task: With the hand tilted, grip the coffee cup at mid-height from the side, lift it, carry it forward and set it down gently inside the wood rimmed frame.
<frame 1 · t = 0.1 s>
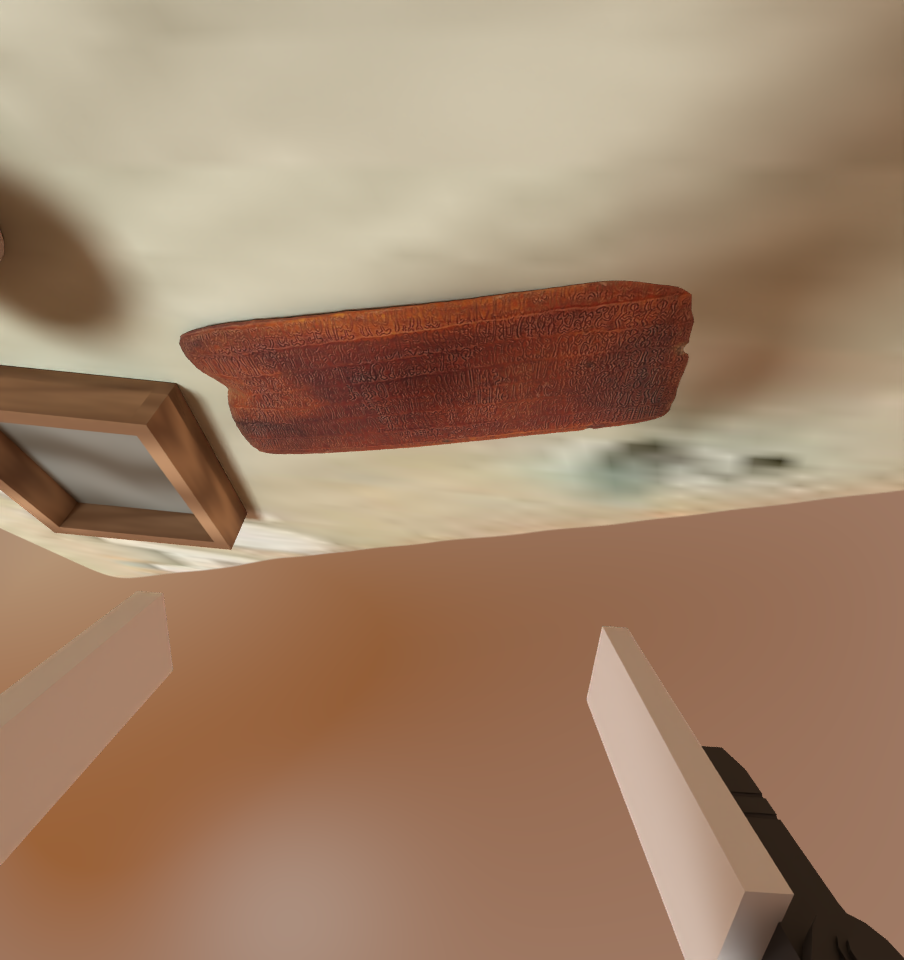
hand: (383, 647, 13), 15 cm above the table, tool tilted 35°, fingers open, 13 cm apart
wood rimmed frame: (120, 450, 31), on the table
wooden tablet: (434, 375, 25), on the table
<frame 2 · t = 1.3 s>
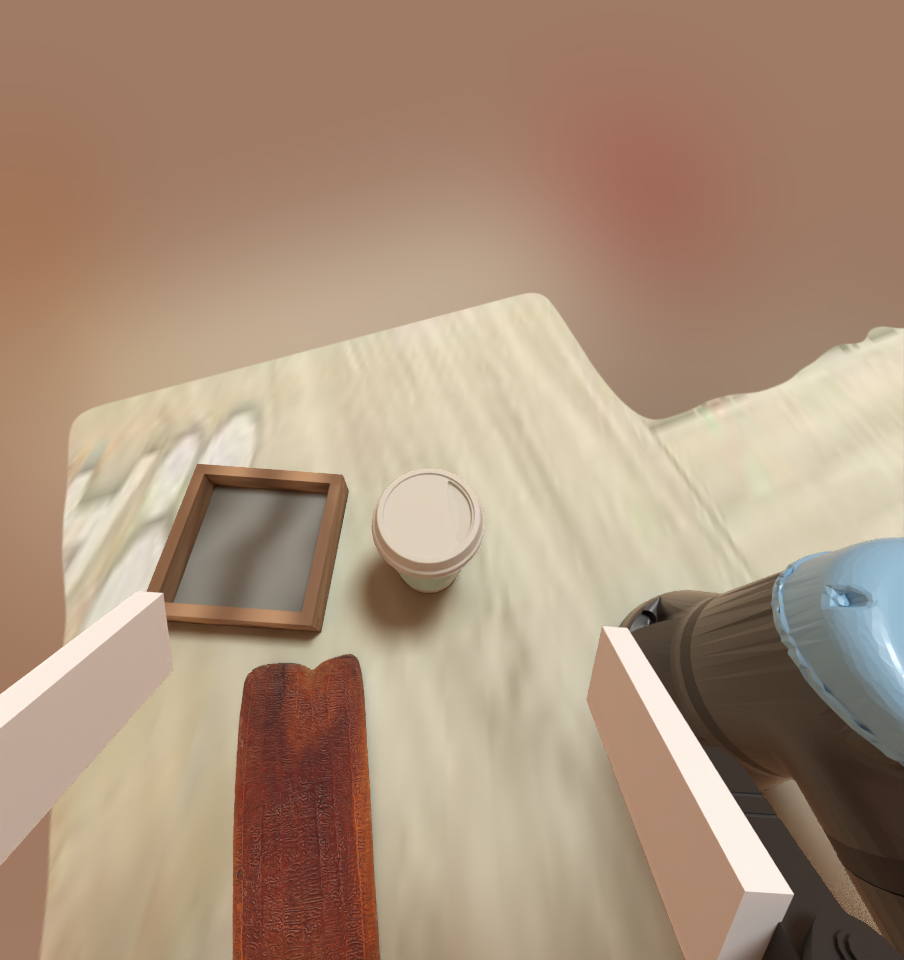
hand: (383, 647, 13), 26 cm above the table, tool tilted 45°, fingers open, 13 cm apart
wood rimmed frame: (263, 550, 41), on the table
coffee cup: (429, 563, 41), on the table
wooden tablet: (306, 854, 31), on the table
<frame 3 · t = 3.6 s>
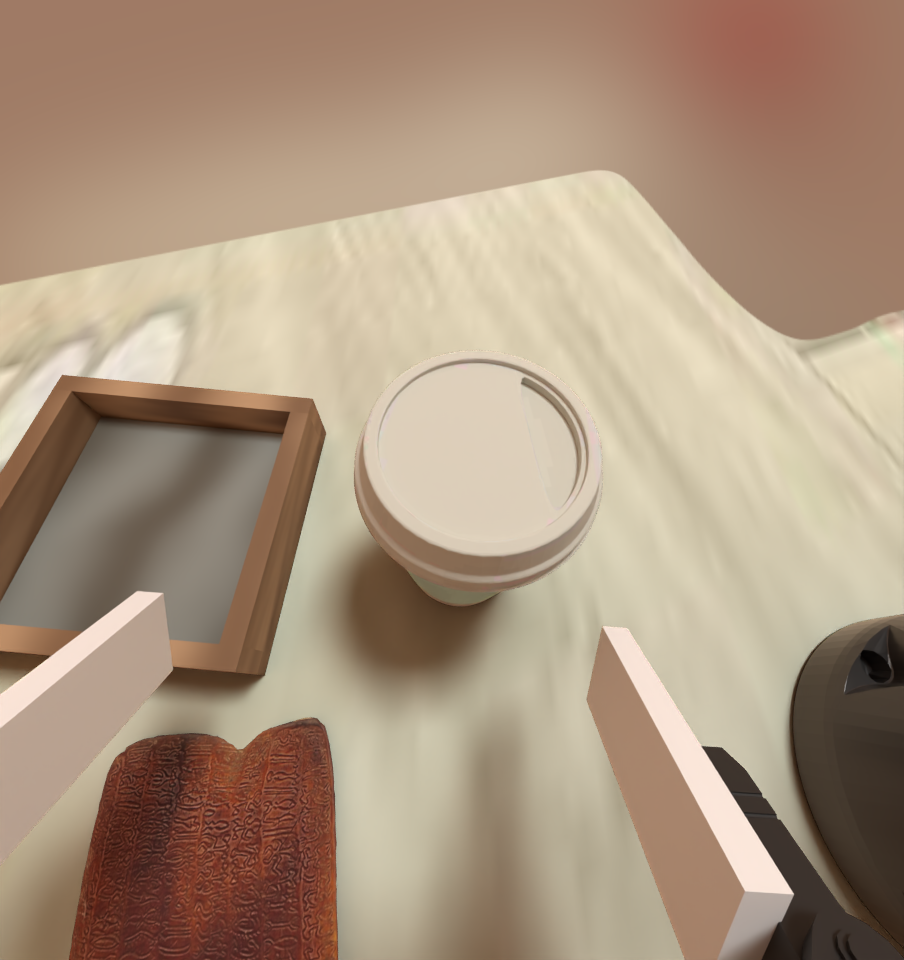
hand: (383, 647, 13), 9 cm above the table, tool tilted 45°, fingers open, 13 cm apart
wood rimmed frame: (174, 526, 24), on the table
coffee cup: (459, 554, 24), on the table
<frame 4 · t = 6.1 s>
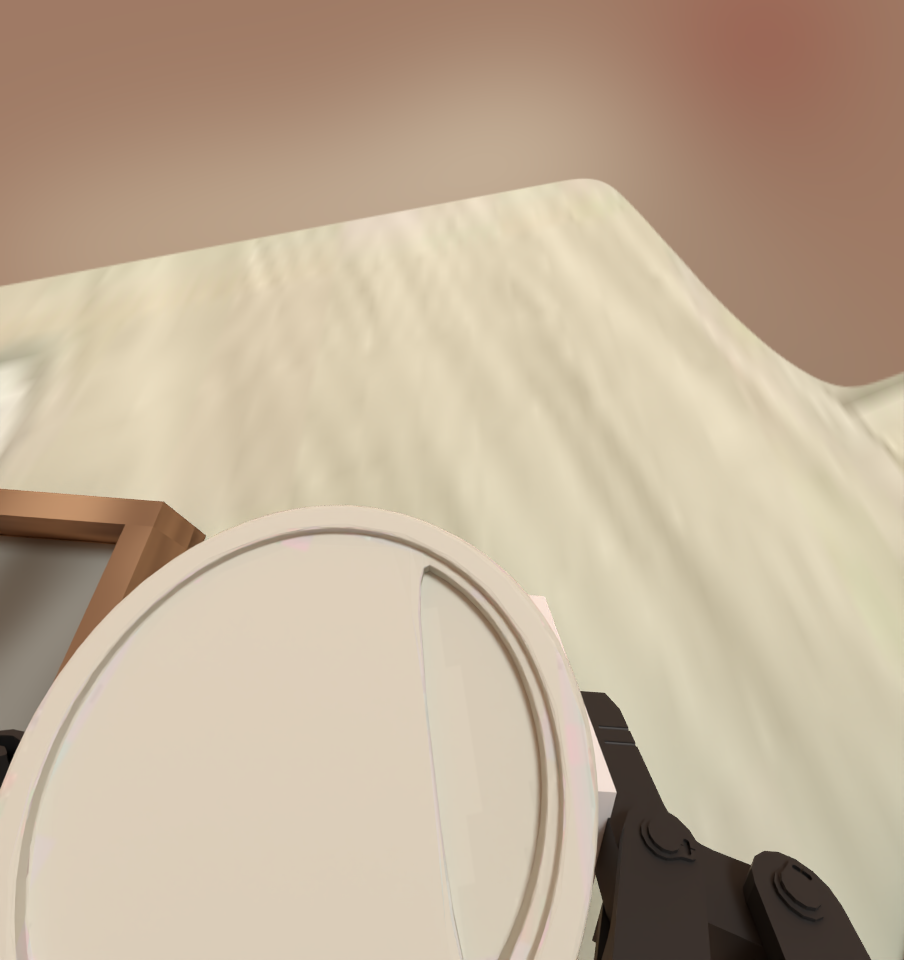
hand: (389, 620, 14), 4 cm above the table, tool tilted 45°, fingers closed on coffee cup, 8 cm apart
coffee cup: (386, 729, 16), on the table, touching gripper
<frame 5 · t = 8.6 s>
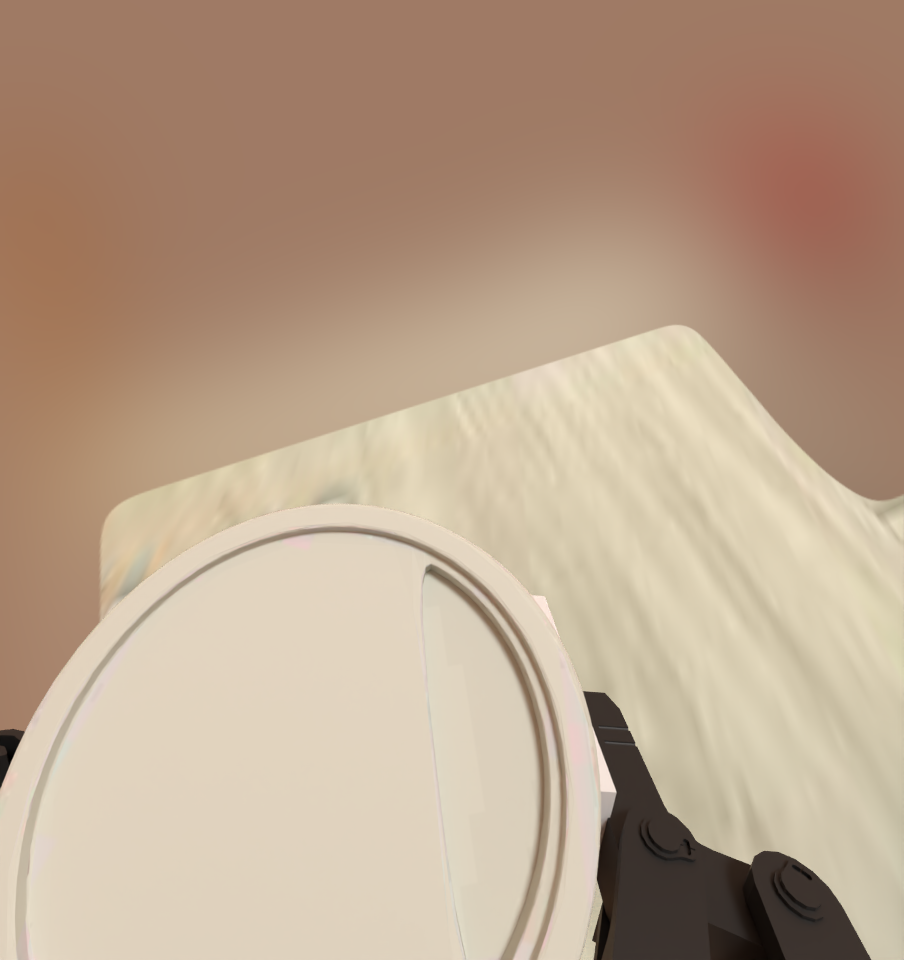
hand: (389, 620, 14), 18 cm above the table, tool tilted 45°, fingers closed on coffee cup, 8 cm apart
coffee cup: (386, 729, 16), point 14 cm above the table, touching gripper
when the fingers open (6 cm above the table, at t = 11.2 s): coffee cup drops 1 cm, resting on wood rimmed frame.
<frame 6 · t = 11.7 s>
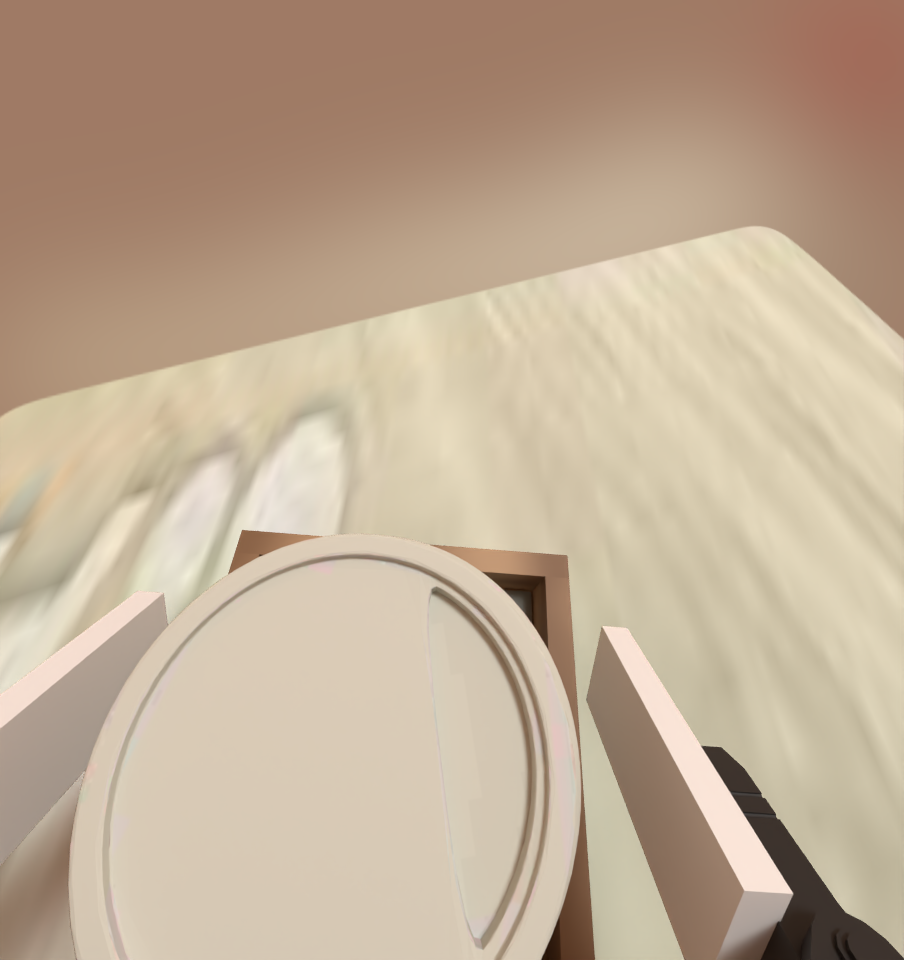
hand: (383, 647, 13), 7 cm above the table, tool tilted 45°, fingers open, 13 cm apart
wood rimmed frame: (390, 727, 18), on the table
coffee cup: (392, 730, 17), point 1 cm above the table, touching wood rimmed frame
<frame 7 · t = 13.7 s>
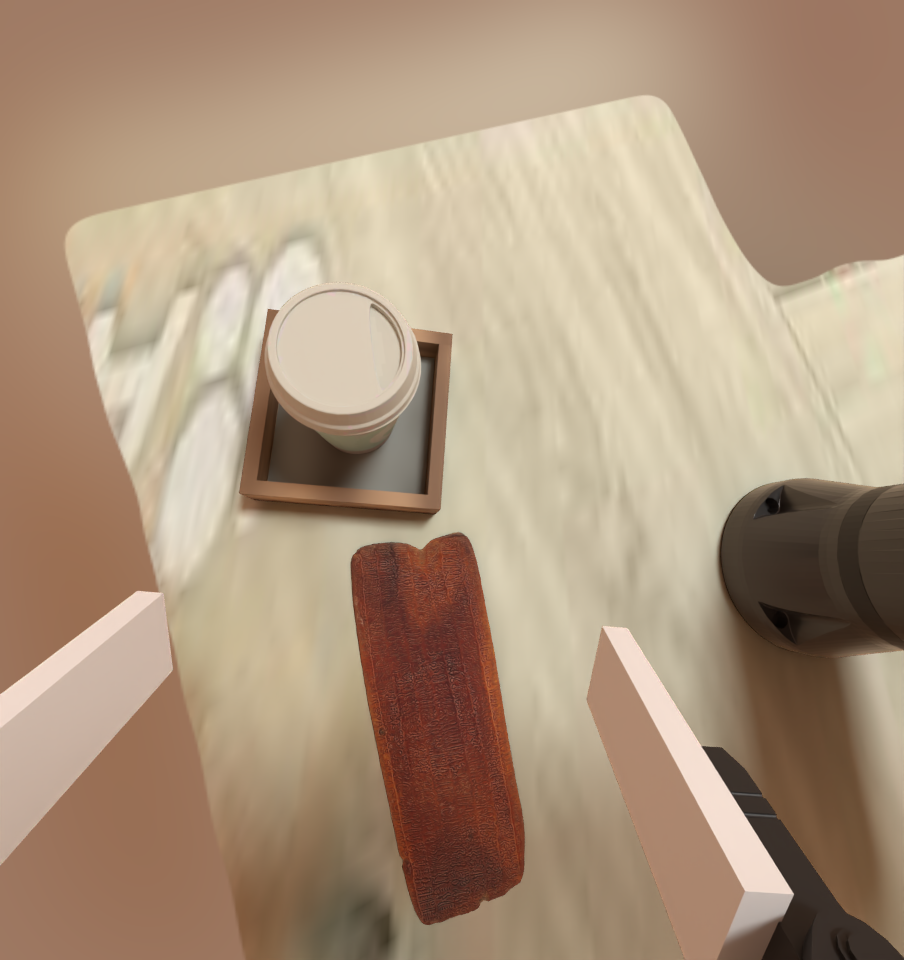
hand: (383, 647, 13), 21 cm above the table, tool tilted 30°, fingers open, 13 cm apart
wood rimmed frame: (356, 422, 35), on the table
coffee cup: (357, 419, 34), point 1 cm above the table, touching wood rimmed frame
wooden tablet: (436, 710, 33), on the table
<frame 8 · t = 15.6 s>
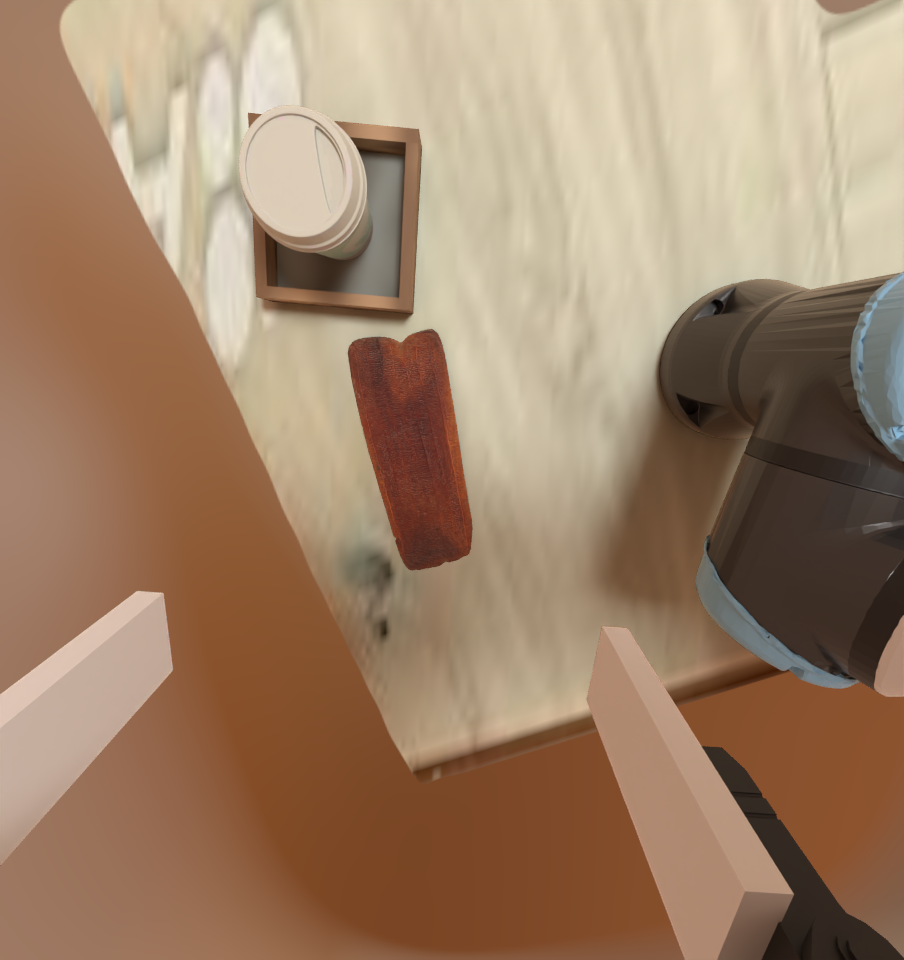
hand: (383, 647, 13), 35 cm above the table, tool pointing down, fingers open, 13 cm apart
wood rimmed frame: (343, 228, 41), on the table
coffee cup: (342, 226, 40), point 1 cm above the table, touching wood rimmed frame
wooden tablet: (416, 458, 48), on the table
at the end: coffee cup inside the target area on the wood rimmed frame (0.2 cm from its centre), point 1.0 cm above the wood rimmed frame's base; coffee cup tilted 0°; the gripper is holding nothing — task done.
